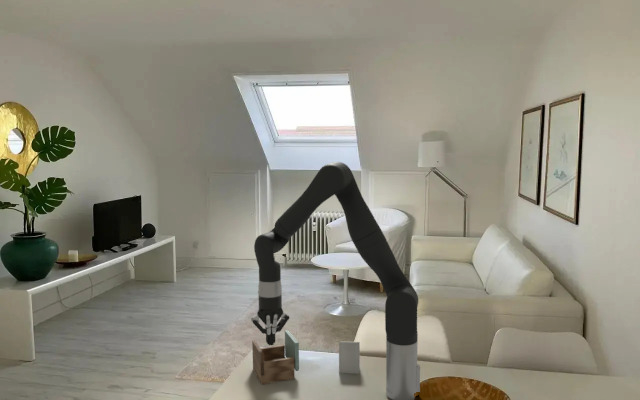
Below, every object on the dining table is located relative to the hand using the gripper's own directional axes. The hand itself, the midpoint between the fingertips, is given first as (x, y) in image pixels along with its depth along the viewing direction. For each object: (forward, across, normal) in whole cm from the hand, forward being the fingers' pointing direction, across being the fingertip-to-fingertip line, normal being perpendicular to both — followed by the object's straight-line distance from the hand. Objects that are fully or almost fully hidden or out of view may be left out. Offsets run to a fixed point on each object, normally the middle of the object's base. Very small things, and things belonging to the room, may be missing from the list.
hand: (270, 344), depth 167 cm
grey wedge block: (+10, +25, -7) cm, 28 cm away
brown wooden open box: (+10, +1, 0) cm, 10 cm away
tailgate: (+7, +7, 0) cm, 10 cm away
